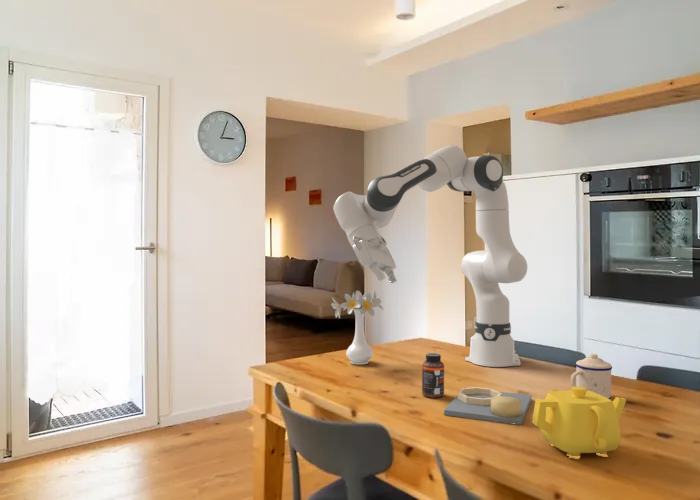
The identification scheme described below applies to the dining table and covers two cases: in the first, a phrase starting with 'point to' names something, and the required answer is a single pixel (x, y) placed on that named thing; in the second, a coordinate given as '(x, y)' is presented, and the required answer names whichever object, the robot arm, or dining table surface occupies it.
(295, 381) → the dining table surface
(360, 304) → the flower vase
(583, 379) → the teacup with lid
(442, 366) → the supplement bottle
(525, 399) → the carrier plate
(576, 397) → the teapot
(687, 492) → the dining table surface
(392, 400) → the dining table surface
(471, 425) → the dining table surface
